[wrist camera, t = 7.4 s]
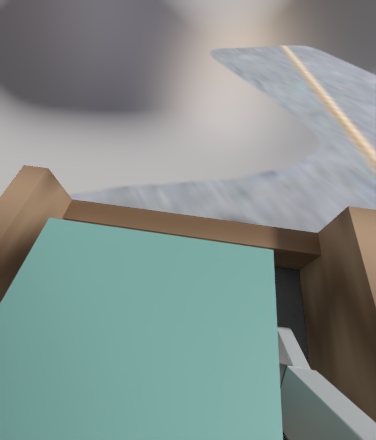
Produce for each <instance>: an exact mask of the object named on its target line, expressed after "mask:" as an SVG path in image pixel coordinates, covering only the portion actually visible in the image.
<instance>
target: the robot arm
mask: <svg viewBox="0 0 376 440" xmlns="http://www.w3.org/2000/svg"><path fill="white" fill-rule="evenodd" d="M277 330H278V350H279V370H280V390H281V409H282V429H283V432H284V434H285V435H286V437H287V438H288V440H376V423H375V422H374V421H373V420H372V419H371V418H370V417H369V416H367V415H366V414H365V413H364V412H363V411H362V410H361V409H359V408H358V407H357V406H356V405H355V404H354V403H353V402H351V401H350V400H349V399H348V398H347V397H346V396H345V395H343V394H342V393H341V392H340V391H339V390H338V389H337V388H335V387H334V386H333V385H332V384H331V383H330V382H329V381H327V380H326V379H325V378H324V377H323V376H322V375H321V374H319V373H318V372H317V371H315V370H311V368H310V366H309V364H308V362H307V360H306V358H305V356H304V354H303V352H302V350H301V348H300V346H299V344H298V342H297V340H296V338H295V336H294V334H293V332H292V330H291V329H289V328H285V327H278V326H277Z"/></svg>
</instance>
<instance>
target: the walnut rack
mask: <svg viewBox="0 0 376 440" xmlns="http://www.w3.org/2000/svg"><path fill="white" fill-rule="evenodd" d="M49 218H55V219H62V220H69V221H76V222H83V223H90V224H97V225H104V226H111V227H118V228H125V229H132V230H139V231H146V232H153V233H160V234H167V235H174V236H180V237H187V238H194V239H201V240H208V241H215V242H222V243H229V244H236V245H243V246H250V247H257V248H264V249H271V250H273V251H274V267H279V268H286V269H292V270H299V273H300V282H301V291H302V300H303V309H304V318H305V327H306V337H307V346H308V355H309V364H310V368H311V370H315V371H317V372H318V373H319V374H321V375H322V376H323V377H324V378H325V379H326V380H327V381H329V382H330V383H331V384H332V385H333V386H334V387H335V388H337V389H338V390H339V391H340V392H341V393H342V394H343V395H345V396H346V397H347V398H348V399H349V400H350V401H351V402H353V403H354V404H355V405H356V406H357V407H358V408H359V409H361V410H362V411H363V412H364V413H365V414H366V415H367V416H369V417H370V418H371V419H372V420H373V421H374V422H375V423H376V210H373V209H365V208H357V207H349V206H348V207H347V208H346V209H345V210H344V211H342V212H341V213H340V214H339V215H338V216H337V217H336V218H334V219H333V220H332V221H331V222H330V223H329V224H328V225H327V226H325V227H324V228H323V229H322V230H321V231H320V232H319V233H313V232H306V231H299V230H291V229H284V228H277V227H270V226H262V225H255V224H248V223H240V222H233V221H226V220H218V219H211V218H204V217H196V216H189V215H182V214H174V213H167V212H160V211H152V210H145V209H138V208H130V207H123V206H116V205H108V204H101V203H94V202H86V201H79V200H72V199H71V197H70V196H69V195H68V194H67V192H66V191H65V190H64V188H63V187H62V186H61V185H60V183H59V182H58V180H57V179H56V178H55V176H54V175H53V174H52V173H51V171H50V170H49V169H48V168H40V167H33V166H25V165H24V166H23V167H22V169H21V170H20V171H19V173H18V174H17V175H16V177H15V178H14V179H13V181H12V182H11V184H10V185H9V186H8V187H7V189H6V190H5V191H4V193H3V194H2V195H1V197H0V303H1V301H2V299H3V298H4V296H5V294H6V292H7V291H8V289H9V287H10V285H11V284H12V282H13V280H14V278H15V277H16V275H17V273H18V271H19V270H20V268H21V266H22V264H23V263H24V261H25V259H26V257H27V256H28V254H29V252H30V250H31V249H32V247H33V245H34V243H35V242H36V240H37V238H38V236H39V235H40V233H41V231H42V229H43V228H44V226H45V224H46V222H47V221H48V219H49Z"/></svg>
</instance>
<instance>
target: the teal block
mask: <svg viewBox="0 0 376 440" xmlns="http://www.w3.org/2000/svg"><path fill="white" fill-rule="evenodd" d="M0 440H283V429H282V409H281V390H280V370H279V350H278V330H277V311H276V291H275V271H274V251H273V250H271V249H264V248H257V247H250V246H243V245H236V244H229V243H222V242H215V241H208V240H201V239H194V238H187V237H180V236H174V235H167V234H160V233H153V232H146V231H139V230H132V229H125V228H118V227H111V226H104V225H97V224H90V223H83V222H76V221H69V220H62V219H55V218H49V219H48V221H47V222H46V224H45V226H44V228H43V229H42V231H41V233H40V235H39V236H38V238H37V240H36V242H35V243H34V245H33V247H32V249H31V250H30V252H29V254H28V256H27V257H26V259H25V261H24V263H23V264H22V266H21V268H20V270H19V271H18V273H17V275H16V277H15V278H14V280H13V282H12V284H11V285H10V287H9V289H8V291H7V292H6V294H5V296H4V298H3V299H2V301H1V303H0Z"/></svg>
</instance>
